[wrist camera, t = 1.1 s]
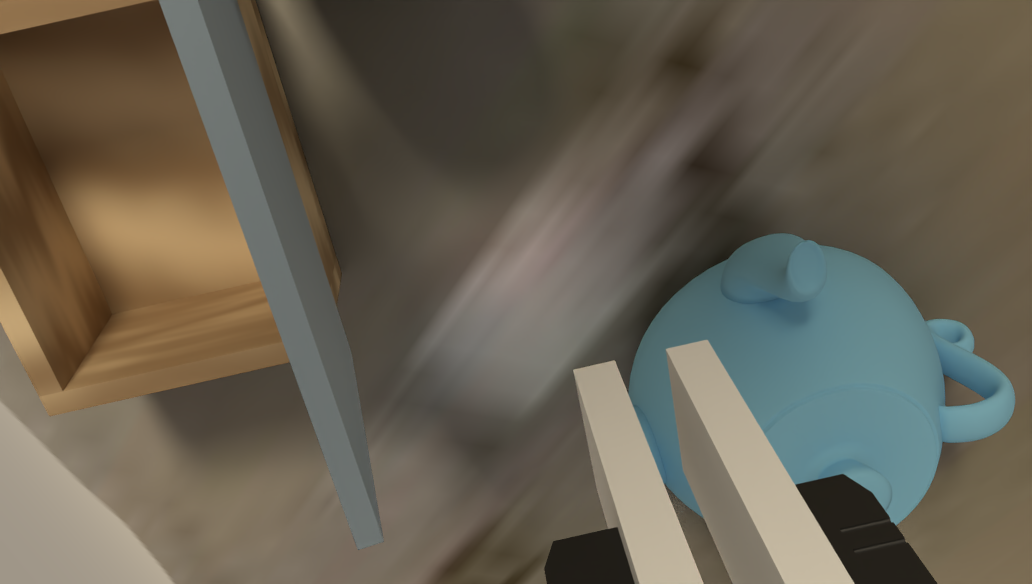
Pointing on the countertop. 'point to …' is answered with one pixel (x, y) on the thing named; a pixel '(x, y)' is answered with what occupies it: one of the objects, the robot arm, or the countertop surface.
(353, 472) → the lid
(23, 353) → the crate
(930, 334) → the teapot
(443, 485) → the countertop surface
